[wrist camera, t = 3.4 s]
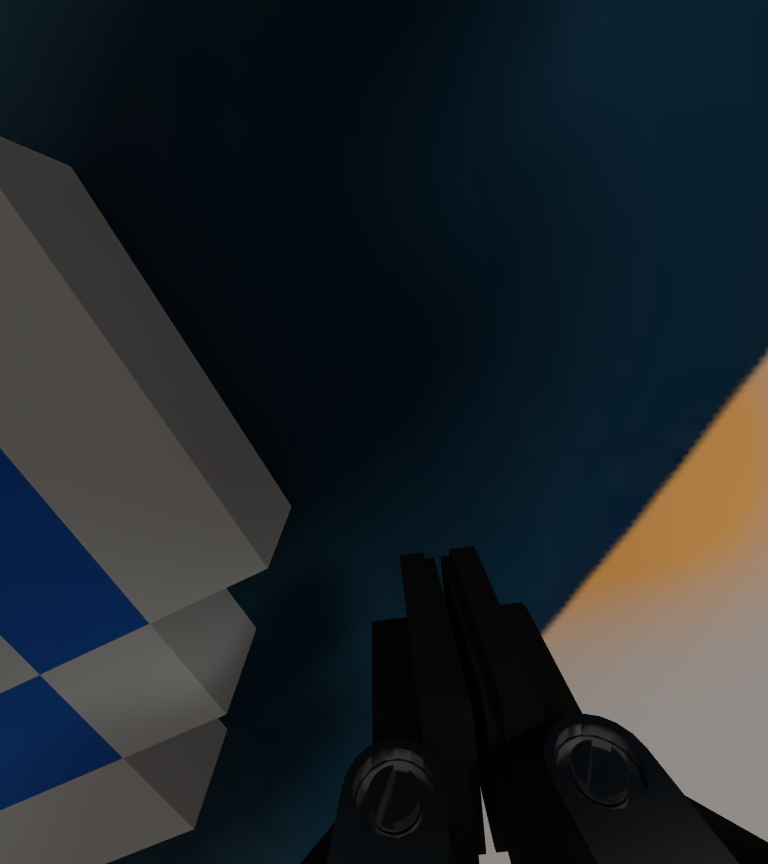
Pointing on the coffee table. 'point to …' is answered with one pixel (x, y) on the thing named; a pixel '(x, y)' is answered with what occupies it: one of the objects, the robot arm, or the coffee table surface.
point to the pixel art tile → (110, 539)
